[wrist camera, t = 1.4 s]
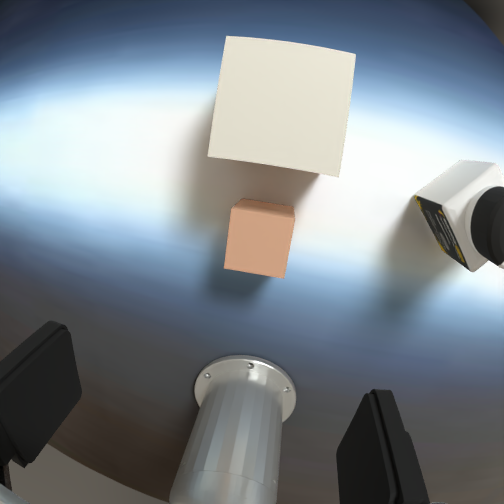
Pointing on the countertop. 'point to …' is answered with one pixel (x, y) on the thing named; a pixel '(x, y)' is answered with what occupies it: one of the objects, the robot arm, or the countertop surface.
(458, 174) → the medicine bottle
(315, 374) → the countertop surface
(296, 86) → the cream block
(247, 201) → the terracotta block
